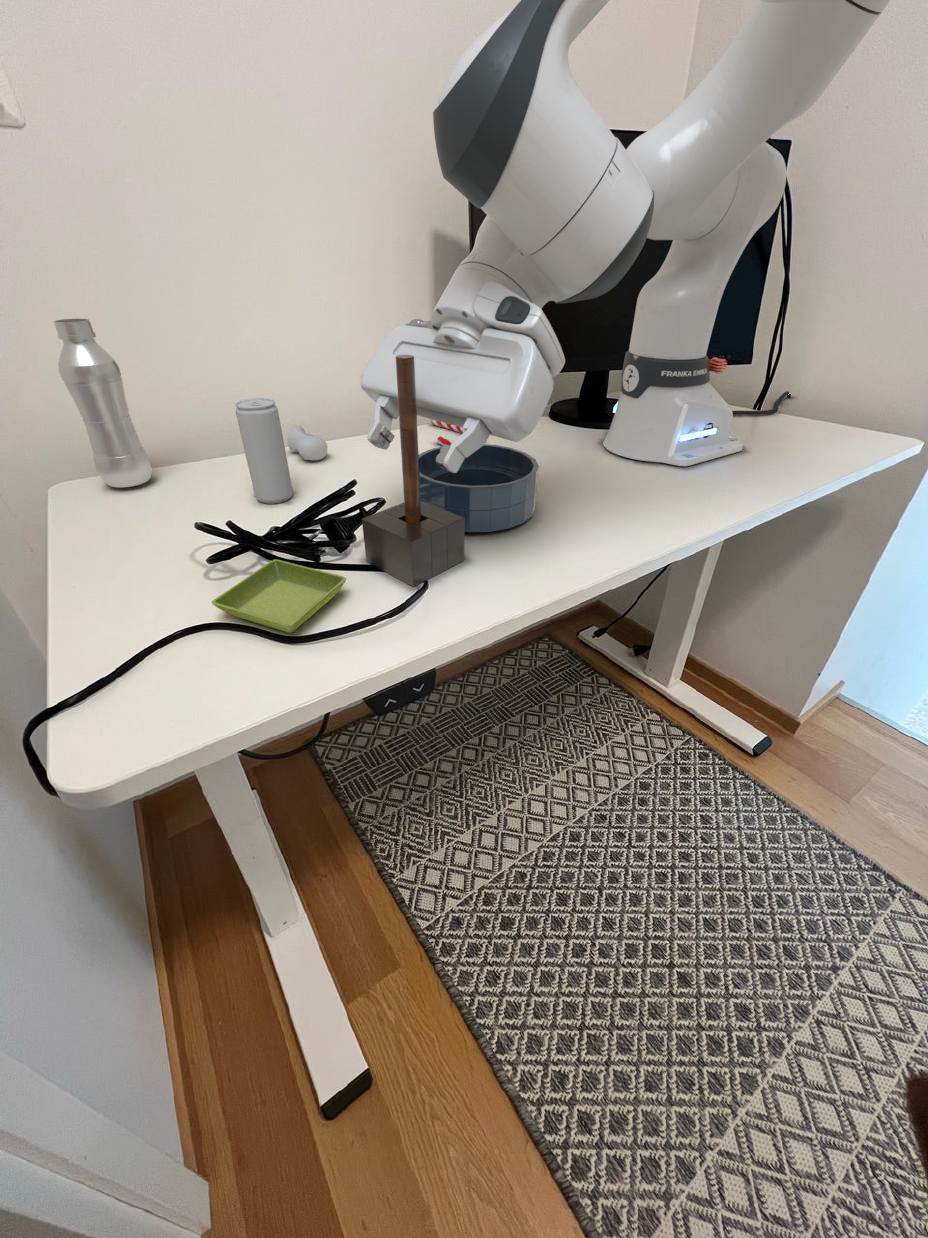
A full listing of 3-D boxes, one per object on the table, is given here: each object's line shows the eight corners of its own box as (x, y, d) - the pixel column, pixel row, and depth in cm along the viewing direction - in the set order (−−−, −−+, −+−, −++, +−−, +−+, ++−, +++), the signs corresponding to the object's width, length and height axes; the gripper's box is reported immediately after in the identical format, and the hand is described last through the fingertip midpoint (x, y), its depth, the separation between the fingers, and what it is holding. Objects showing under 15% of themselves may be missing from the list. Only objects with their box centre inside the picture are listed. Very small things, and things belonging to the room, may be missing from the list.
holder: (417, 538, 62) (415, 497, 59) (464, 560, 58) (464, 517, 55) (366, 561, 58) (361, 518, 55) (413, 587, 54) (411, 542, 51)
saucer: (350, 595, 52) (348, 576, 51) (294, 646, 46) (289, 626, 45) (278, 576, 55) (274, 558, 54) (214, 621, 49) (208, 602, 47)
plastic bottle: (129, 473, 78) (72, 315, 67) (167, 479, 77) (116, 318, 65) (92, 489, 73) (23, 322, 62) (132, 496, 72) (69, 325, 60)
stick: (420, 556, 59) (411, 353, 47) (425, 563, 58) (416, 357, 46) (406, 559, 58) (393, 355, 47) (410, 566, 57) (398, 358, 45)
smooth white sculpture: (332, 468, 84) (300, 464, 81) (312, 452, 89) (281, 448, 86) (336, 440, 82) (304, 435, 79) (316, 426, 87) (285, 421, 84)
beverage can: (257, 507, 69) (234, 409, 62) (254, 493, 73) (232, 399, 66) (296, 501, 70) (278, 405, 63) (291, 488, 74) (273, 396, 67)
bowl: (502, 480, 77) (504, 438, 73) (556, 524, 65) (561, 476, 62) (399, 496, 72) (396, 451, 69) (437, 546, 61) (436, 495, 57)
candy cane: (449, 414, 100) (490, 436, 89) (449, 421, 101) (490, 444, 90) (410, 420, 97) (448, 443, 86) (410, 427, 98) (448, 451, 87)
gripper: (387, 294, 54) (319, 415, 54) (557, 310, 43) (473, 463, 42) (421, 339, 59) (360, 449, 59) (581, 364, 48) (506, 500, 48)
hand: (408, 456), depth 51 cm, fingers open, 8 cm apart
